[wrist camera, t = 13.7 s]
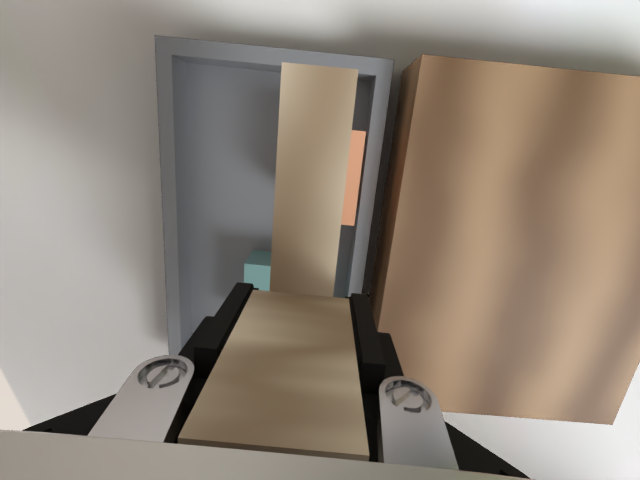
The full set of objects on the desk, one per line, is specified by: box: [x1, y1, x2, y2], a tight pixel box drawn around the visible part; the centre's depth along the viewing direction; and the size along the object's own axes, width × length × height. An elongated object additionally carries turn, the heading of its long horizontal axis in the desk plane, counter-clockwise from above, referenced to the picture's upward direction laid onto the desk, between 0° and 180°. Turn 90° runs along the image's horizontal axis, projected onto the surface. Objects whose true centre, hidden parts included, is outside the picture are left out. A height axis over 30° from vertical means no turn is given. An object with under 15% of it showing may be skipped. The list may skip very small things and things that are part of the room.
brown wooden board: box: [369, 54, 640, 425], centre depth 20 cm, size 16×20×4 cm
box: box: [155, 35, 394, 355], centre depth 21 cm, size 12×20×2 cm, turn 175°
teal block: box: [244, 250, 271, 291], centre depth 21 cm, size 4×4×2 cm
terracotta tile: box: [341, 130, 366, 226], centre depth 18 cm, size 4×4×2 cm
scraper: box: [178, 62, 369, 461], centre depth 9 cm, size 3×16×8 cm, turn 175°
